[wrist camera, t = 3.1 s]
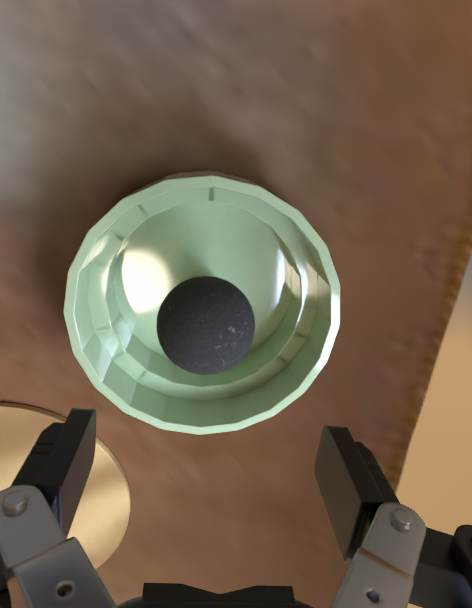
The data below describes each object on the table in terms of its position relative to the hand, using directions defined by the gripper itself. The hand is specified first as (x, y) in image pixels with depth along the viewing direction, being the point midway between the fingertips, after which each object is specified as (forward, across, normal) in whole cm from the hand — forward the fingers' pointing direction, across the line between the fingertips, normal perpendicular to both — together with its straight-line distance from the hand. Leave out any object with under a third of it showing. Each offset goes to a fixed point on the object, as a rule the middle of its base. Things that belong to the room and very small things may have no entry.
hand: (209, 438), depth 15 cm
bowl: (+18, 0, 0) cm, 18 cm away
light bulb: (+18, 0, 0) cm, 18 cm away
